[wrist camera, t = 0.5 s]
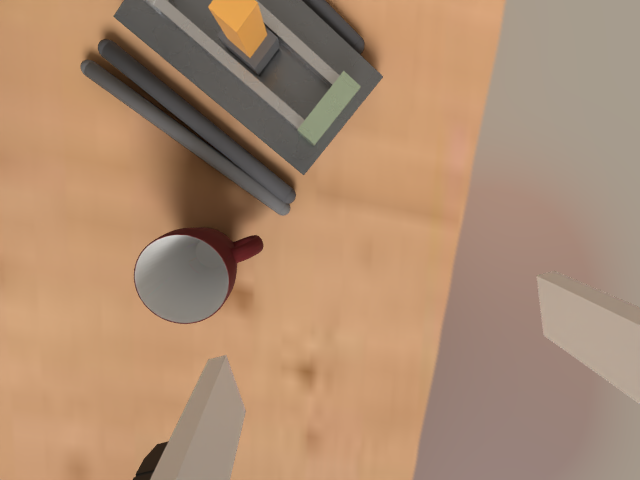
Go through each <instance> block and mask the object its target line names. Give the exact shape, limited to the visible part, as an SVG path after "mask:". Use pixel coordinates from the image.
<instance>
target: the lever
mask: <svg viewBox="0 0 640 480" xmlns="http://www.w3.org/2000/svg"><path fill="white" fill-rule="evenodd" d="M208 8H209V10H210V11H211V13H212V14H213V16H214V18H215V19H216V21H217V22H218V24H219V26H220V27H221V30H220V32H219V33H218V35H217V37H218V38H219V39H220V41H221V42H222V44H223V45H224V46H225V47H226V48H227V49H228V50H230V51H231V52H232V53H233V54H234V55H235V56H236V57H238V58H239V59H240V60H241V61H242V62H243V63H244V64H246V65H247V66H248V67H249V68H250V69H251V70H253V71H254V72H255V73H256V74H257V75H258V76H259V74H260V73H261V71H262V70H263V69H264V67H265V66H266V65H267V63H268V62H269V61H270V59H271V58H272V57H273V55H274V54H275V53H276V51H277V50H278V49H279V47H280V45H279V41H278V37H277V36H275V35H274V34H273V33H272V32H271V31H270V30H269V29H268V28H267V27H265V25H264V22H263V18H262V15H261V12H260V8H259V5H258V2H256V1H255V0H213V1H212V2H211V4H210V5H209V6H208Z"/></svg>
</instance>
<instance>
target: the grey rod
mask: <svg viewBox="0 0 640 480" xmlns="http://www.w3.org/2000/svg"><path fill="white" fill-rule="evenodd" d="M98 51H99V53H100V54H101V56H102V57H103V58H105V59H106V60H107V61H108V62H110V63H111V64H112V65H113V66H115V67H116V68H117V69H118V70H120V71H121V72H122V73H123V74H124V75H126V76H127V77H128V78H129V79H131V80H132V81H133V82H134V83H136V84H137V85H138V86H139V87H141V88H142V89H143V90H144V91H146V92H147V93H148V94H149V95H150V96H152V97H153V98H154V99H155V100H157V101H158V102H159V103H160V104H162V105H163V106H164V107H165V108H167V109H168V110H169V111H170V112H172V113H173V114H174V115H175V116H176V117H178V118H179V119H180V120H181V121H183V122H184V123H185V124H186V125H188V126H189V127H190V128H191V129H193V130H194V131H195V132H196V133H198V134H199V135H200V136H201V137H202V138H204V139H205V140H206V141H207V142H209V143H210V144H211V145H212V146H214V147H215V148H216V149H217V150H219V151H220V152H221V153H222V154H224V155H225V156H226V157H227V158H228V159H230V160H231V161H232V162H233V163H235V164H236V165H237V166H238V167H240V168H241V169H242V170H243V171H245V172H246V173H247V174H248V175H250V176H251V177H252V178H253V179H255V180H256V181H257V182H258V183H260V184H261V185H262V186H263V187H265V188H266V189H267V190H269V191H270V192H271V193H272V194H274V195H275V196H276V197H277V198H279V199H280V200H281V201H283V202H284V203H287V204H289V203H292V202H293V201H294V200H295V197H296V193H295V191H294V190H293V189H292V188H291V187H290V186H289V185H288V184H286V183H285V182H284V181H283V180H281V179H280V178H279V177H278V176H277V175H275V174H274V173H273V172H272V171H270V170H269V169H268V168H267V167H266V166H264V165H263V164H262V163H261V162H260V161H258V160H257V159H256V158H255V157H253V156H252V155H251V154H250V153H249V152H247V151H246V150H245V149H244V148H242V147H241V146H240V145H239V144H238V143H236V142H235V141H234V140H233V139H231V138H230V137H229V136H228V135H227V134H225V133H224V132H223V131H222V130H221V129H219V128H218V127H217V126H216V125H214V124H213V123H212V122H211V121H210V120H208V119H207V118H206V117H205V116H203V115H202V114H201V113H200V112H199V111H197V110H196V109H195V108H194V107H192V106H191V105H190V104H189V103H188V102H186V101H185V100H184V99H183V98H182V97H180V96H179V95H178V94H177V93H175V92H174V91H173V90H172V89H171V88H169V87H168V86H167V85H166V84H164V83H163V82H162V81H161V80H160V79H158V78H157V77H156V76H155V75H153V74H152V73H151V72H150V71H149V70H147V69H146V68H145V67H144V66H143V65H141V64H140V63H139V62H138V61H136V60H135V59H134V58H133V57H132V56H130V55H129V54H128V53H127V52H125V51H124V50H123V49H122V48H121V47H119V46H118V45H117V44H116V43H114V42H113V41H111V40H108V39H104V40H102V41H100V42H99V44H98Z"/></svg>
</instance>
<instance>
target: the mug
mask: <svg viewBox="0 0 640 480" xmlns="http://www.w3.org/2000/svg"><path fill="white" fill-rule="evenodd" d="M262 249H263V242H262V239H261V238H260V237H259V236H257V235H254V236H249V237H246V238H243V239H241V240H238V241H236V242H232V241H231V240H230V239H229V238H228V237H227V236H226V235H224V234H223V233H221V232H220V231H218V230H215V229H212V228H205V227H199V228H182V229H178V230H174V231H171V232H169V233H167V234H165V235H163V236H161V237H159V238H157V239H155V240H154V241H152V242H151V243H150V244H149V245H147V246H146V247H145V248H144V249H143V251H142V252H141V254H140V255H139V257H138V259H137V261H136V264H135V269H134V283H135V287H136V290H137V293H138V295H139V297H140V299H141V300H142V302H143V303H144V305H145V306H146V307H147V308H148V309H149V310H150V311H151V312H153V313H154V314H155V315H157V316H159V317H160V318H162V319H164V320H167V321H170V322H174V323H180V324H190V323H196V322H200V321H203V320H205V319H207V318H209V317H211V316H212V315H213V314H215V313H216V312H217V311H218V310H219V309H220V308H221V307H222V305H223V304H224V303H225V301H226V300H227V298H228V296H229V295H230V293H231V291H232V289H233V286H234V283H235V279H236V272H237V263H238V262H241V261H244V260H246V259H249V258H251V257H253V256H254V255H256V254H258V253H259V252H261V251H262Z"/></svg>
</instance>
